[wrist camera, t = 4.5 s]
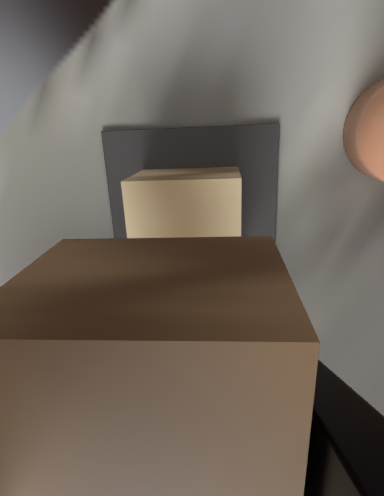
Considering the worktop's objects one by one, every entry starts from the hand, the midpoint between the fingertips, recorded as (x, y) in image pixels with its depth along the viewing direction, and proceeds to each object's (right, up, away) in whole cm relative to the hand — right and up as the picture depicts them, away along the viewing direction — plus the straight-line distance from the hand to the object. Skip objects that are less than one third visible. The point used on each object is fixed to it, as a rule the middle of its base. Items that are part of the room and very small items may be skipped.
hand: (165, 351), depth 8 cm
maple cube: (+1, +4, +11) cm, 11 cm away
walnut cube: (0, 0, +1) cm, 1 cm away
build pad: (+1, +4, +11) cm, 12 cm away
